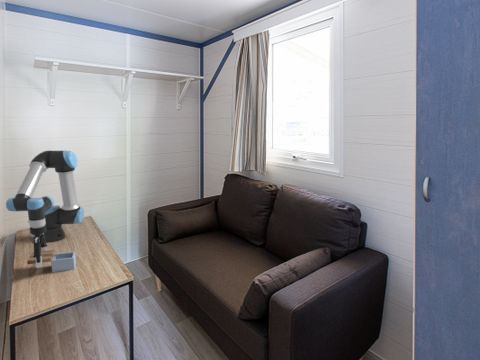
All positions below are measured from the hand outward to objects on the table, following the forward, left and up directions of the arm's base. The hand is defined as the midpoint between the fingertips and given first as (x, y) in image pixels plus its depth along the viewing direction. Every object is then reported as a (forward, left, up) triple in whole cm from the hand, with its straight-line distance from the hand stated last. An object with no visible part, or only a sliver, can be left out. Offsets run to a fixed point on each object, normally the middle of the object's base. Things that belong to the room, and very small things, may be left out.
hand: (41, 262), depth 169 cm
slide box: (0, +11, -5) cm, 12 cm away
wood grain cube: (0, 0, +2) cm, 2 cm away
